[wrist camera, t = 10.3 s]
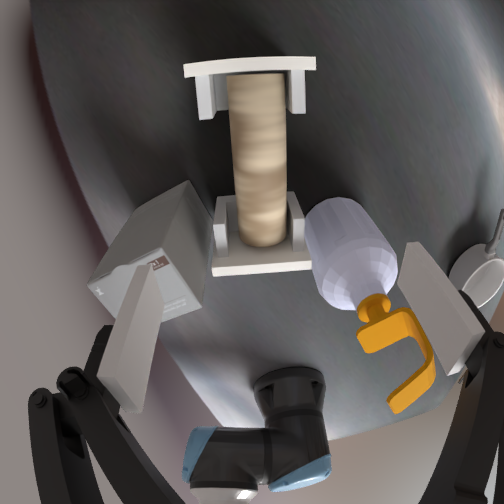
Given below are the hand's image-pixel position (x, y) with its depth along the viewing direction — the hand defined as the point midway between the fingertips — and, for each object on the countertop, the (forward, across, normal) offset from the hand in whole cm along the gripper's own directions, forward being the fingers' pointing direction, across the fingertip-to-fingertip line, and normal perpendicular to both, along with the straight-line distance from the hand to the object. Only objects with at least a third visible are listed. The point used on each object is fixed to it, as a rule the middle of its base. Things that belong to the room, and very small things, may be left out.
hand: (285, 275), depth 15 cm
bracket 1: (+21, +1, -9) cm, 23 cm away
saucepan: (+21, -36, +15) cm, 45 cm away
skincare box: (+21, +11, +6) cm, 25 cm away
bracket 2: (+21, +1, +5) cm, 22 cm away
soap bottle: (+21, -9, +10) cm, 25 cm away
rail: (+15, +2, -2) cm, 16 cm away
